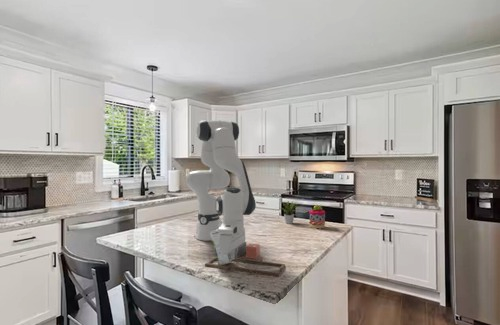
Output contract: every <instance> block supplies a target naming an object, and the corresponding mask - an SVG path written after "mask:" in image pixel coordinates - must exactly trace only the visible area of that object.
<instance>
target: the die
mask: <svg viewBox="0 0 500 325" xmlns="http://www.w3.org/2000/svg"><path fill="white" fill-rule="evenodd" d="M260 253H261V245H260V244H257V243H248V244H246V252H245V256H246V258H250V259H258V258H259V257H260V256H261V254H260Z"/></svg>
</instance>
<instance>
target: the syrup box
mask: <svg viewBox="0 0 500 325" xmlns="http://www.w3.org/2000/svg"><path fill="white" fill-rule="evenodd" d="M210 236H211V240H210V241H211V243H212V246H213V250H214V254H215V256H216V258H217V260H216V261H217V264H218V265H226V264H230V263H231V262H234V261H233V260H231V255H230V253H229V254H222V253H221V252H220V248H219V236H220V234H219V233H218V229H216V230H214V231H212V232H210Z"/></svg>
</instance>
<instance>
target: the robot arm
mask: <svg viewBox="0 0 500 325" xmlns="http://www.w3.org/2000/svg"><path fill="white" fill-rule="evenodd" d="M195 130H196V135H197V136H196V137H197V138H198V139H199V140H200V141H202V143H201V144H202V145H201V151H200V153H201V154H200V161H201V164H203V165H205V166H206V167H208V168H209V169H207V170H204V169H203V170H194V171H189V172H188V173H187V175H186V177H185V184H186V186H187V188H189V189H190V190H191V191H192V192H193V193H194V194H195V196H196V199H197V203H198V213H197V221H196V224H195V225H196V226H195V233H194V234H193V237H195V239H196V240H199V241H212V240H211V236H210V232H212V231H214V230H216V229H218V233H219V234H220V236H219V248H220V252H221V253H222V254H229V253H230V255H231V260H234V259H235V258H238V257H237V252H238V247H239V246H240V245H242V244H243V243H245V242H246V228H245V226H244V225H245V223H244V221H245V220H244V216H250V215H251V214H253V213H254V211H255V210H256V208H257V205H256V199H255V196H254V194H253V191H252V188H251V187H252V186H251V184H250V180H249V179H250V178H249V175H248V172H247V171H248V170H247V169H246V168H247V167H246V165H245V163H244V161H243V160H241V159H240V158H239V155H238V154H237V147H236V141H237V140H238V138H239V135H240V126H239V125H238V123H236V122H234V121H227V120H219V119H218V120H207V119H205V120H200V121H199V122H198V123H197V127H196V129H195ZM228 172H230V173H232V174H233V175H236V177H237V178H238V182H239V185H240V188H238V187H228V186H229V185H230V182H231V177H230V174H229V173H228ZM224 188H225V189H224ZM216 189H217V190H220V189H224V191H223V194H220V195H218V196H217V197H216V196H215V195H212V194H210V193H209V190H216ZM220 216H223V218H222V220H221V218H220Z"/></svg>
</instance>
